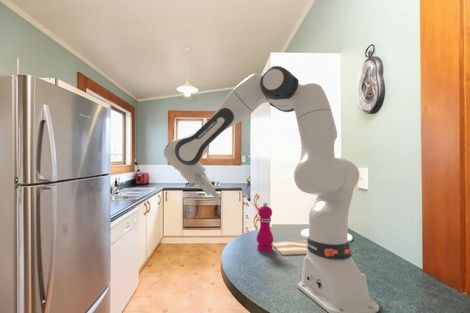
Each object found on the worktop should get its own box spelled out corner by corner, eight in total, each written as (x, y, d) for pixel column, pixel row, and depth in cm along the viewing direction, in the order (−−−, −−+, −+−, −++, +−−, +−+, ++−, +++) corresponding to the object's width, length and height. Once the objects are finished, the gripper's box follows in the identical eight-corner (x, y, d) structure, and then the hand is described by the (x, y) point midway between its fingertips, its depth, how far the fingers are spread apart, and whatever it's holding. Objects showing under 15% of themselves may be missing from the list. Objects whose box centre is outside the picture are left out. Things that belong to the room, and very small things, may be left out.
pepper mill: (271, 253, 104) (272, 204, 105) (254, 251, 107) (255, 203, 107) (274, 247, 111) (275, 202, 112) (258, 245, 114) (259, 200, 114)
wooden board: (328, 253, 105) (328, 252, 105) (282, 255, 102) (282, 254, 102) (311, 241, 121) (311, 240, 121) (270, 243, 118) (270, 241, 118)
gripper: (201, 169, 95) (226, 195, 97) (200, 167, 115) (221, 189, 117) (189, 181, 94) (214, 207, 96) (190, 177, 115) (211, 199, 116)
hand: (218, 197), depth 107 cm, fingers closed
